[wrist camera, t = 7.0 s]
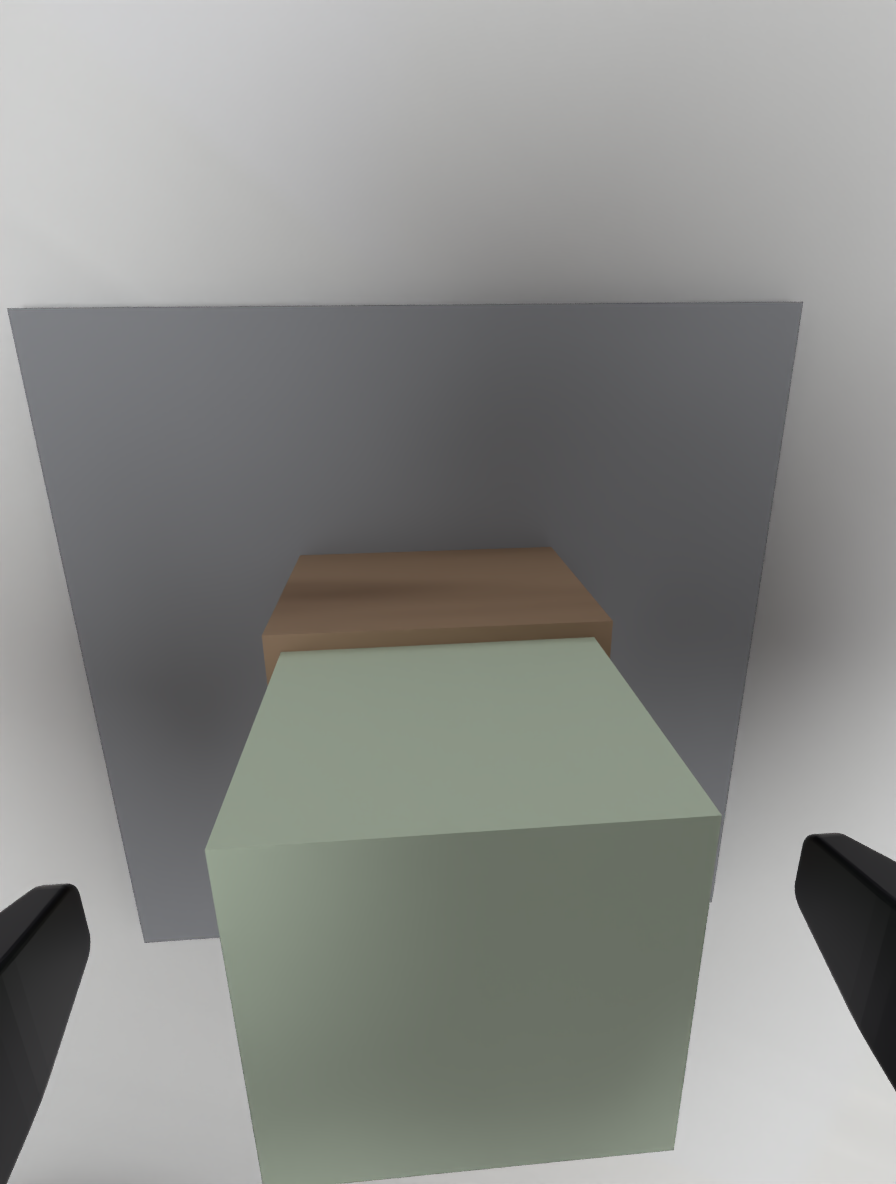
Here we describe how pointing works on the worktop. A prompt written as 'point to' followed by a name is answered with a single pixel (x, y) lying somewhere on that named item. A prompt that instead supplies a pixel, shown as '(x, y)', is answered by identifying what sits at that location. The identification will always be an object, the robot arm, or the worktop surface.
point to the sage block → (459, 911)
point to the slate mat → (390, 506)
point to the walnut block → (431, 601)
